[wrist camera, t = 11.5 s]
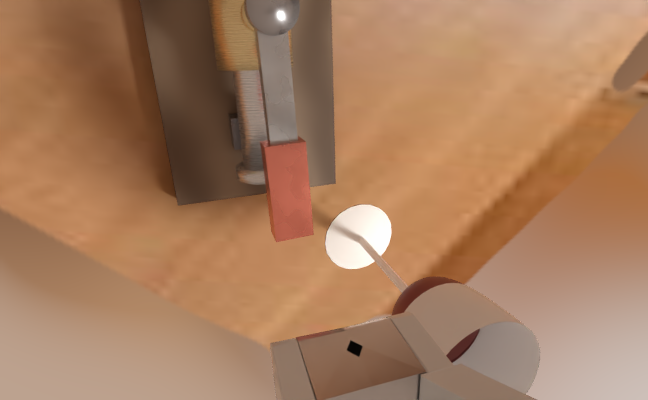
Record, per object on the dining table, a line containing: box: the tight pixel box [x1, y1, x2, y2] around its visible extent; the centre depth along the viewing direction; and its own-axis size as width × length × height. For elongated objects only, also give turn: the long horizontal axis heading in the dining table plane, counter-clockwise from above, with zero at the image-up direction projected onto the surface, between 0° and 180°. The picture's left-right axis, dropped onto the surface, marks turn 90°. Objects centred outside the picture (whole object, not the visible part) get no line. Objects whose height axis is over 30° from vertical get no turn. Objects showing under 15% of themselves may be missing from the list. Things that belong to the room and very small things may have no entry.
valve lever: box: [244, 0, 314, 242], centre depth 23 cm, size 14×3×4 cm, turn 4°
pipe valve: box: [208, 0, 293, 185], centre depth 26 cm, size 5×22×8 cm, turn 2°
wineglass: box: [325, 205, 540, 394], centre depth 33 cm, size 8×9×20 cm
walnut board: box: [140, 0, 336, 206], centre depth 30 cm, size 14×28×2 cm, turn 2°
